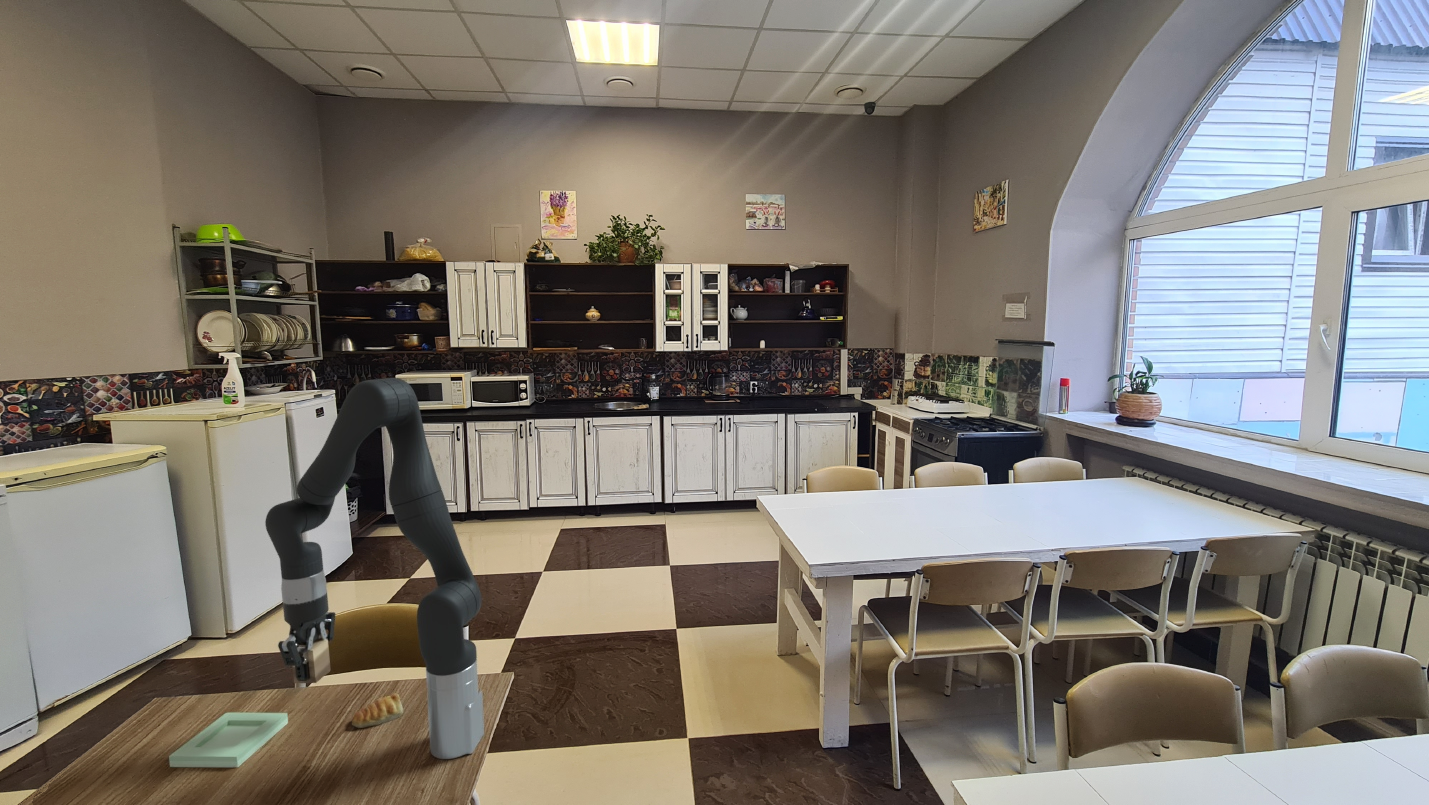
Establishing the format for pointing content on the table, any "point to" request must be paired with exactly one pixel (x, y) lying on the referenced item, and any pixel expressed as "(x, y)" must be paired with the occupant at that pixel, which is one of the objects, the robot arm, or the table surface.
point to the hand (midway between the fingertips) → (312, 672)
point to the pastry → (379, 712)
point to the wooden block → (316, 661)
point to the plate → (229, 740)
